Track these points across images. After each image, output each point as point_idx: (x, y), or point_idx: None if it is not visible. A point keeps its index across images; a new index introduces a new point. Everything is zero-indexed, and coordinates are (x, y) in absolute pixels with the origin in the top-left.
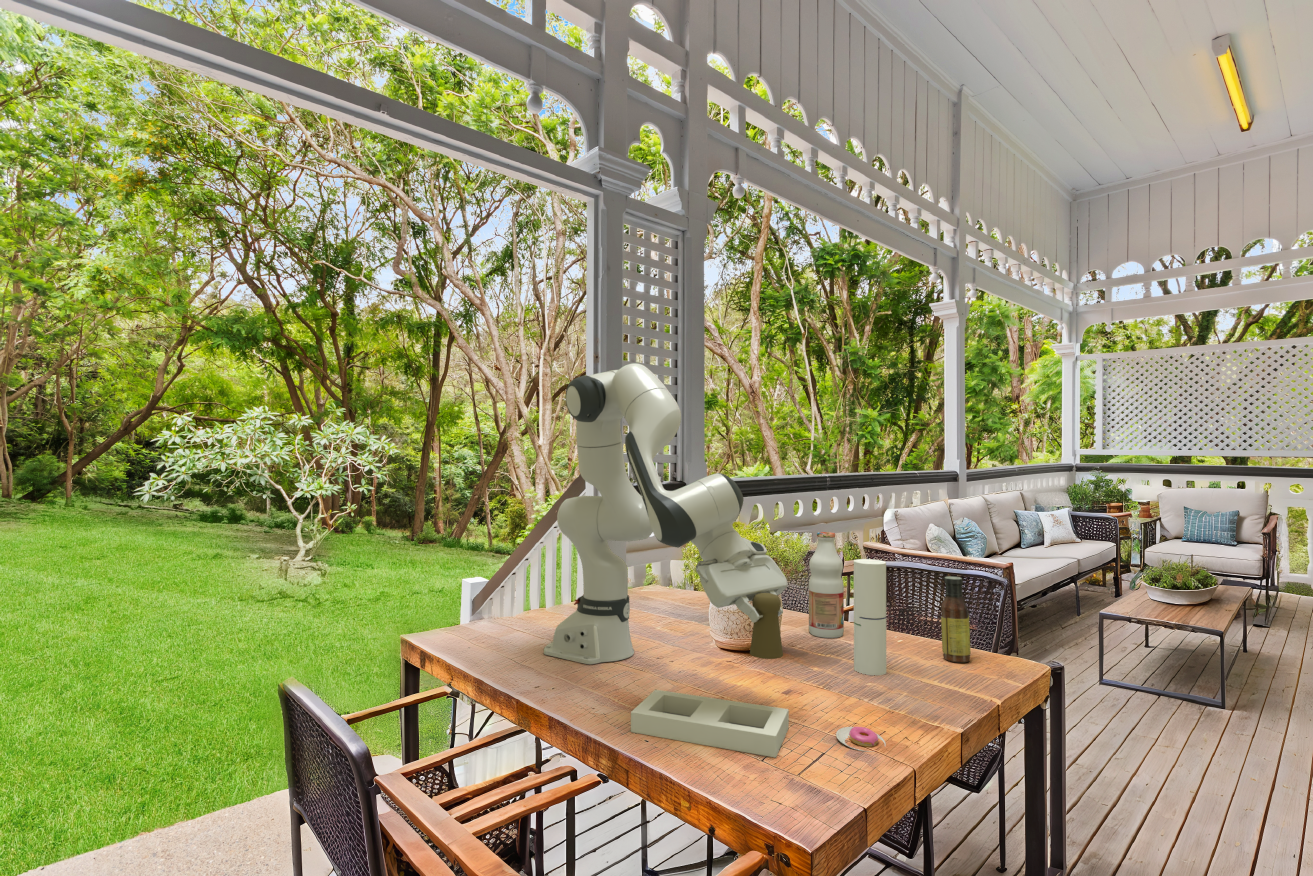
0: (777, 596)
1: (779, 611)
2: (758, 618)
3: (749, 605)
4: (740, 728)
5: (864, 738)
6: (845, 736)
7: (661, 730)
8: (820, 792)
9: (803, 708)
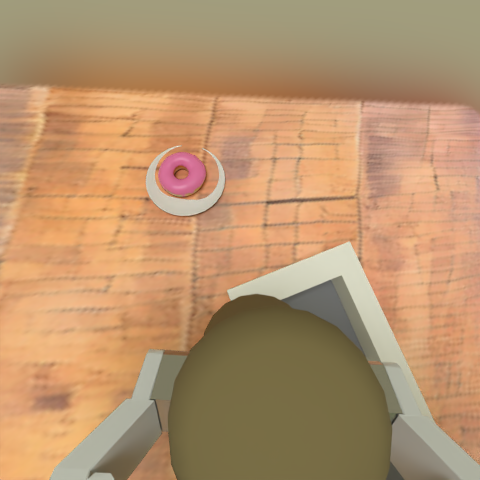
0: (243, 343)
1: (182, 353)
2: (387, 362)
3: (457, 452)
4: (373, 308)
5: (198, 162)
6: (188, 203)
7: None
8: (372, 153)
9: (120, 322)
